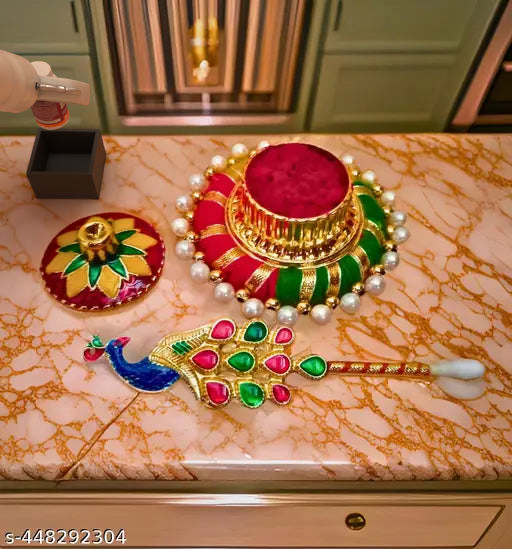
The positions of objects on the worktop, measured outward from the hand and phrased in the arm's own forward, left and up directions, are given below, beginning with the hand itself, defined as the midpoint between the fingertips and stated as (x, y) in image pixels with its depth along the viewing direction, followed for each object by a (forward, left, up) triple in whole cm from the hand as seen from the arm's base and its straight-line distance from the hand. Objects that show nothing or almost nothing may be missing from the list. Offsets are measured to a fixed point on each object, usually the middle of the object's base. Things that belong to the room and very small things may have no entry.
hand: (45, 91), depth 103 cm
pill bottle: (0, -1, -6) cm, 6 cm away
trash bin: (0, 0, -22) cm, 22 cm away
